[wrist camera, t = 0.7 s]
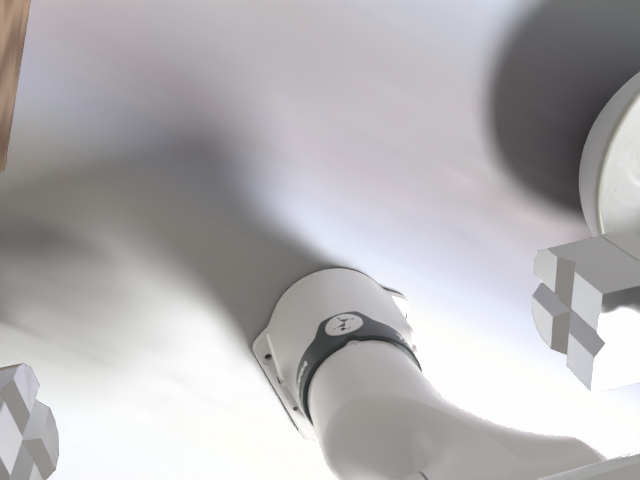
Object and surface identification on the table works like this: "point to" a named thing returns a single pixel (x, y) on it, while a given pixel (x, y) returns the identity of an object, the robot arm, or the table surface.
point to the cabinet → (10, 63)
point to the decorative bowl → (613, 165)
